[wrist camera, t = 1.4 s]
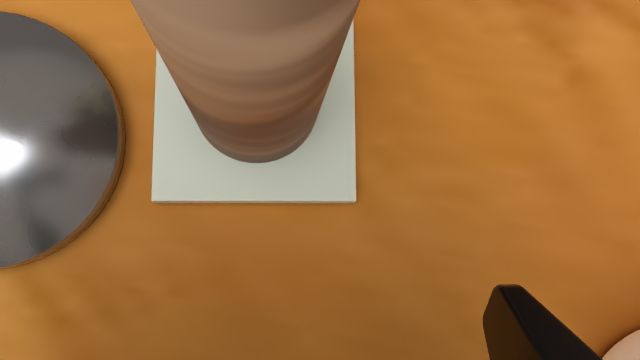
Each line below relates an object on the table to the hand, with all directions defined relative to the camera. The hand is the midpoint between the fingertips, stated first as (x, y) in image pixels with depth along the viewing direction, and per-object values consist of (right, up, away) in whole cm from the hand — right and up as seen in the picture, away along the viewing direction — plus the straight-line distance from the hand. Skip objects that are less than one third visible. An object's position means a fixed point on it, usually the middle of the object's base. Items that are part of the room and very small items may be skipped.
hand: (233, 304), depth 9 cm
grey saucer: (-11, +4, +13) cm, 17 cm away
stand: (-1, +5, +14) cm, 15 cm away
